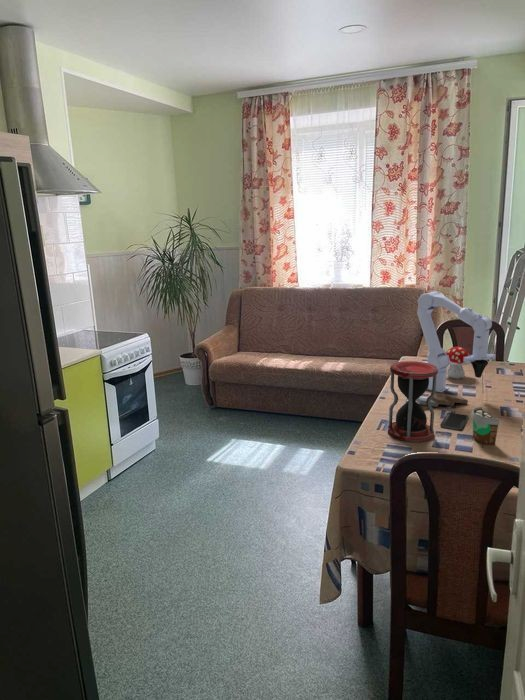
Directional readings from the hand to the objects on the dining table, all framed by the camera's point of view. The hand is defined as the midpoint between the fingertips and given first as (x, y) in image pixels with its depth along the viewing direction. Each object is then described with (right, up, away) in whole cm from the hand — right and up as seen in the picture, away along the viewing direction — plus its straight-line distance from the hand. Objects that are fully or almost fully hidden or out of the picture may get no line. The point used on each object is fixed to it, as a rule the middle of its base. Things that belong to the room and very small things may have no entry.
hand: (477, 376), depth 218 cm
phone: (-19, -17, -23) cm, 34 cm away
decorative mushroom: (+2, -2, +32) cm, 32 cm away
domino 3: (-13, -10, -4) cm, 17 cm away
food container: (-16, -20, -39) cm, 46 cm away
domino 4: (-7, -10, -2) cm, 12 cm away
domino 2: (-23, -12, -6) cm, 26 cm away
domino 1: (-20, -11, -5) cm, 23 cm away
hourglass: (-38, -19, -32) cm, 53 cm away
